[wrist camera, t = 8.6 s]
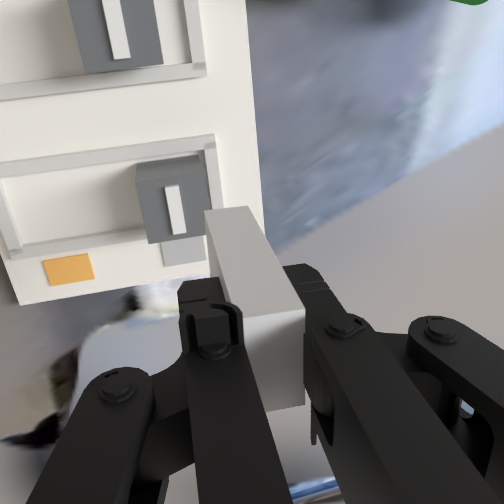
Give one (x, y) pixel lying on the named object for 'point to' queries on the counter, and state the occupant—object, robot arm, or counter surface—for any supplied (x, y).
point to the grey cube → (172, 198)
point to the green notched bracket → (471, 1)
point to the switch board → (116, 144)
